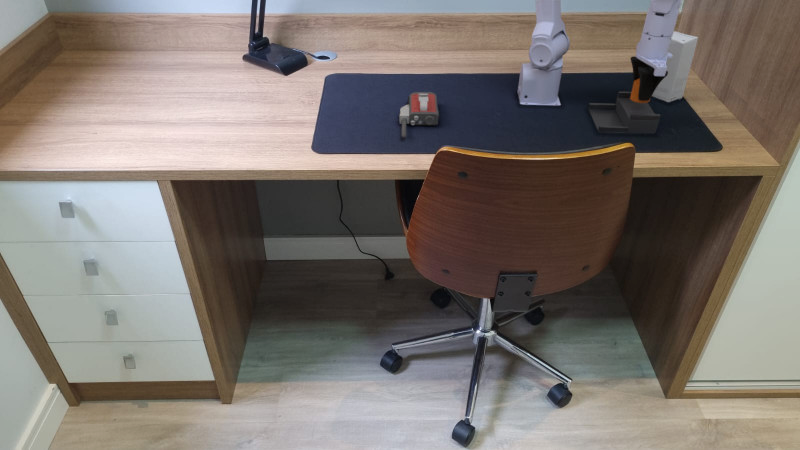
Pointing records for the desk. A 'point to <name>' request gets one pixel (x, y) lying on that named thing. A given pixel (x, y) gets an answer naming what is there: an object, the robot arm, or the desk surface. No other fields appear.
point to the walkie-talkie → (419, 110)
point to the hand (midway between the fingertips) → (640, 95)
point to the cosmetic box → (677, 67)
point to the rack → (624, 116)
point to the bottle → (636, 92)
